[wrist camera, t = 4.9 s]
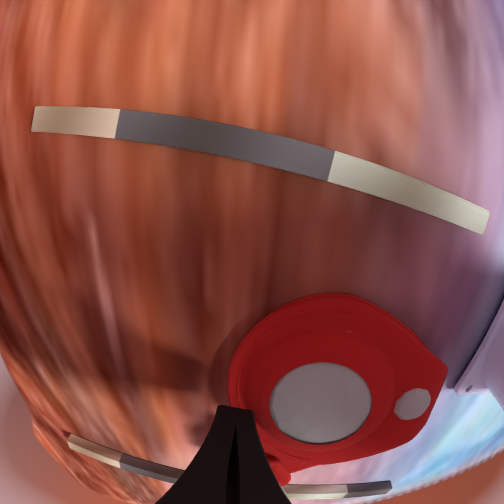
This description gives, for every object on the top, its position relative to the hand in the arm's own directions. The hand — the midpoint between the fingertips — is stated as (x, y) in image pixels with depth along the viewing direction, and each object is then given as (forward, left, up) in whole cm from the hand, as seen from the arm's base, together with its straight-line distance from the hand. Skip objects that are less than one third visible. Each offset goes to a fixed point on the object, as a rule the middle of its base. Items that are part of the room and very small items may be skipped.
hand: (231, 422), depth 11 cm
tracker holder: (-3, 0, -3) cm, 4 cm away
